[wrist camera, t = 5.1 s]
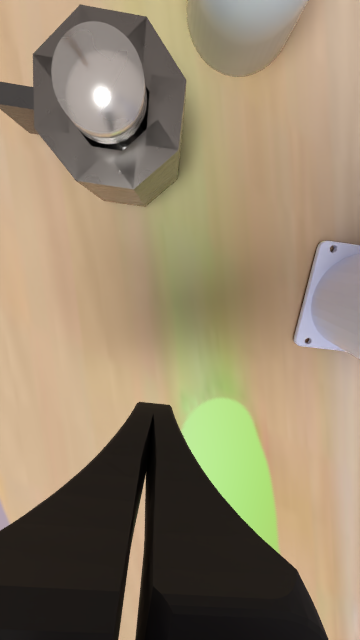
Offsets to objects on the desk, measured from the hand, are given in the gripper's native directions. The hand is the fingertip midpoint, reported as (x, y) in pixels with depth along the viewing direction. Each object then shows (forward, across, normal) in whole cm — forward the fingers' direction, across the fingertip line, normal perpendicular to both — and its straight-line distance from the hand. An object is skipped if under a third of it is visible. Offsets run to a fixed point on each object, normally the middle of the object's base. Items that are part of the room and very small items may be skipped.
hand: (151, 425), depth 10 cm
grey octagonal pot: (+10, +5, -13) cm, 17 cm away
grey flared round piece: (+10, +4, -13) cm, 17 cm away
